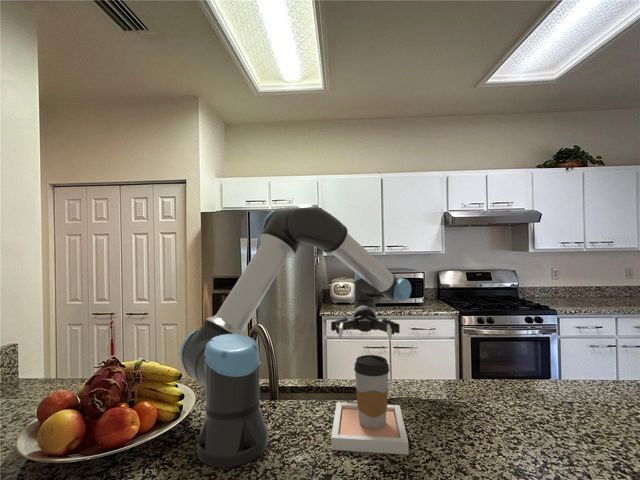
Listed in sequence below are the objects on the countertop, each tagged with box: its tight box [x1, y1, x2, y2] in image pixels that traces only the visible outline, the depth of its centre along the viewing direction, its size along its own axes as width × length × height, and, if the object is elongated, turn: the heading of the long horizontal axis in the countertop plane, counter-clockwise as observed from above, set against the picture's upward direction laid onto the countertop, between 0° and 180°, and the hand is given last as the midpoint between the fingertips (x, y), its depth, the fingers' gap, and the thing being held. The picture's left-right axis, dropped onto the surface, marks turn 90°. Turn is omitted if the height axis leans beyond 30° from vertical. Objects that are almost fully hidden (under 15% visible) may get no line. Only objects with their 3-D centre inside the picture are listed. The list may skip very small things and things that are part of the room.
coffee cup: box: [353, 354, 390, 430], centre depth 79 cm, size 8×8×15 cm
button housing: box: [330, 401, 410, 455], centre depth 79 cm, size 16×16×3 cm
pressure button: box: [340, 409, 399, 438], centre depth 79 cm, size 13×13×1 cm
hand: (364, 333), depth 91 cm, fingers open, 13 cm apart
